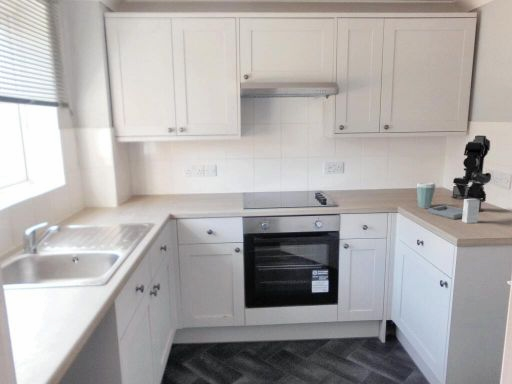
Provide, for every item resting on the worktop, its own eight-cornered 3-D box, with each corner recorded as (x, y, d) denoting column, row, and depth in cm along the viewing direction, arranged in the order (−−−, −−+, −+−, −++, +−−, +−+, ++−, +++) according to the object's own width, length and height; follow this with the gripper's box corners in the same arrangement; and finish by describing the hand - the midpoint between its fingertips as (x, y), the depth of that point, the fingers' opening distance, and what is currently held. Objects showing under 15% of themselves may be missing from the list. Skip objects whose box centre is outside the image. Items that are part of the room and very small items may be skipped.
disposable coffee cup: (414, 208, 222) (416, 183, 219) (414, 204, 232) (416, 180, 229) (433, 209, 218) (436, 184, 215) (433, 205, 227) (435, 181, 224)
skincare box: (472, 220, 195) (475, 198, 193) (477, 222, 191) (480, 200, 189) (461, 220, 195) (463, 198, 193) (466, 223, 191) (468, 200, 188)
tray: (445, 209, 219) (445, 205, 218) (471, 215, 205) (472, 211, 204) (427, 212, 212) (427, 208, 211) (453, 219, 198) (453, 214, 197)
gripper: (474, 169, 177) (470, 201, 180) (500, 167, 185) (496, 198, 187) (454, 166, 187) (450, 197, 190) (479, 165, 195) (475, 194, 197)
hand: (469, 196), depth 191 cm, fingers open, 9 cm apart
